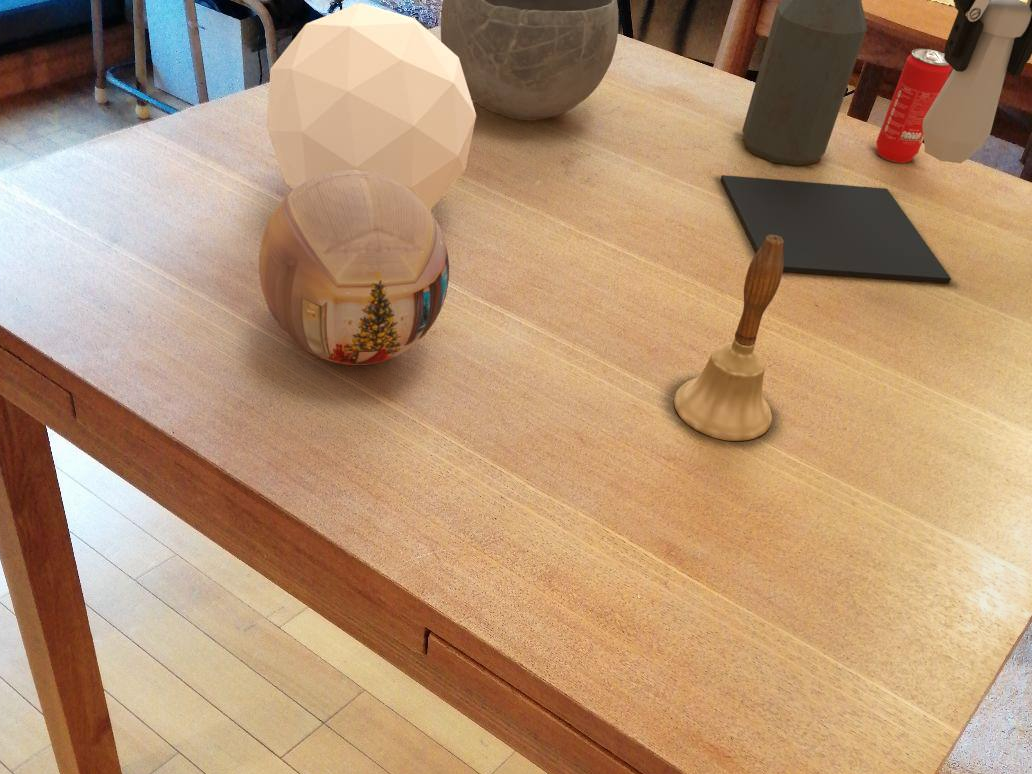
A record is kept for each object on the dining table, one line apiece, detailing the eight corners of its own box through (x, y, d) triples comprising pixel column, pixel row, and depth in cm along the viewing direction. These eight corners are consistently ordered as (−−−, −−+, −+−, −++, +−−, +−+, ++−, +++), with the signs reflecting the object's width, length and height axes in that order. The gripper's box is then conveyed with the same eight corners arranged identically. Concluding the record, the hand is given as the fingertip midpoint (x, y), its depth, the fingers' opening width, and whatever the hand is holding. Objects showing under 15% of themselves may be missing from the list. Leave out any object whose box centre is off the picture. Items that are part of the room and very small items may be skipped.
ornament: (395, 423, 85) (407, 250, 75) (226, 366, 88) (215, 191, 78) (467, 332, 96) (487, 169, 85) (315, 283, 98) (316, 120, 88)
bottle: (784, 126, 138) (868, -146, 117) (839, 160, 132) (937, -120, 112) (723, 136, 133) (799, -145, 113) (777, 172, 128) (867, -118, 107)
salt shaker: (900, 140, 99) (959, -12, 90) (949, 136, 101) (1011, -13, 92) (941, 169, 95) (1006, 14, 86) (991, 165, 97) (1060, 12, 88)
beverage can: (873, 158, 134) (910, 59, 126) (872, 142, 138) (908, 44, 129) (915, 167, 134) (955, 68, 125) (913, 151, 137) (952, 53, 129)
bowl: (440, 66, 139) (451, -64, 129) (598, 87, 140) (622, -39, 130) (427, 132, 124) (438, -8, 114) (604, 156, 125) (631, 19, 115)
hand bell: (726, 453, 87) (786, 278, 76) (653, 399, 92) (700, 226, 81) (791, 421, 92) (856, 250, 81) (718, 370, 96) (771, 202, 85)
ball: (404, 292, 112) (473, 204, 94) (218, 204, 106) (252, 91, 88) (459, 142, 117) (533, 31, 99) (284, 50, 112) (329, -86, 93)
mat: (885, 193, 127) (887, 188, 127) (949, 283, 113) (951, 278, 112) (720, 179, 124) (721, 174, 124) (764, 270, 110) (766, 265, 110)
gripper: (1000, -185, 77) (904, 78, 89) (1215, -160, 79) (1092, 92, 92) (958, -207, 82) (873, 43, 94) (1160, -183, 84) (1051, 58, 97)
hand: (981, 65), depth 93 cm, fingers closed on salt shaker, 4 cm apart
